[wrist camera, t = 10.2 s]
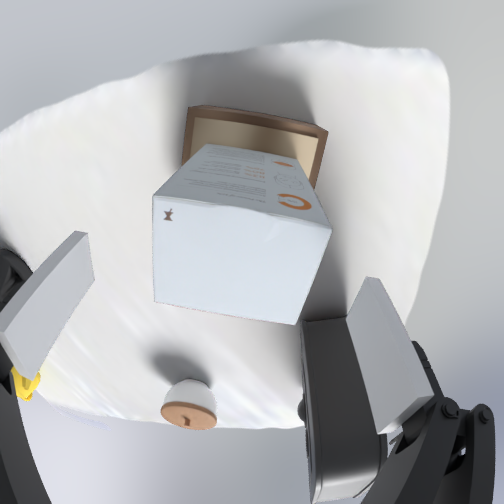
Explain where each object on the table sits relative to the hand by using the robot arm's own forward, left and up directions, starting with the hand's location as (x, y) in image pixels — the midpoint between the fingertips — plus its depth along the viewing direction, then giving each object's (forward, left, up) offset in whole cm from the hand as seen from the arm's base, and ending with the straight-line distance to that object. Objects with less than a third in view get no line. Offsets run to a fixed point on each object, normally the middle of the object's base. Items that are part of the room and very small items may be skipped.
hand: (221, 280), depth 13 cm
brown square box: (0, 0, -20) cm, 20 cm away
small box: (0, 0, -14) cm, 14 cm away
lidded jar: (-4, -44, -21) cm, 49 cm away
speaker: (+17, -29, -21) cm, 39 cm away
